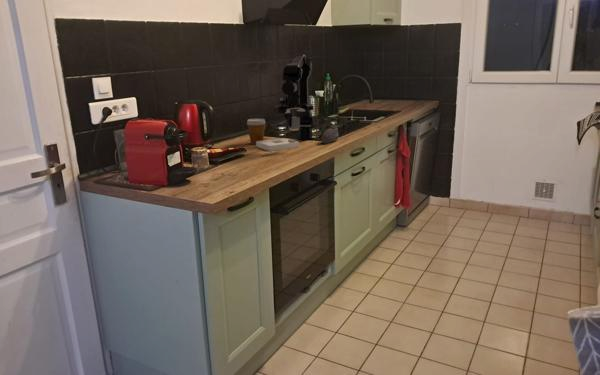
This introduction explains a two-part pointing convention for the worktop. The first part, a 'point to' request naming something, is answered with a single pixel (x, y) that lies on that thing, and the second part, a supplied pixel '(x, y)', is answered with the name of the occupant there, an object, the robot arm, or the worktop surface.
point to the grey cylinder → (295, 124)
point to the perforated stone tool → (330, 135)
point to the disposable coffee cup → (256, 129)
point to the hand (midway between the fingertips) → (293, 126)
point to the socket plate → (277, 144)
